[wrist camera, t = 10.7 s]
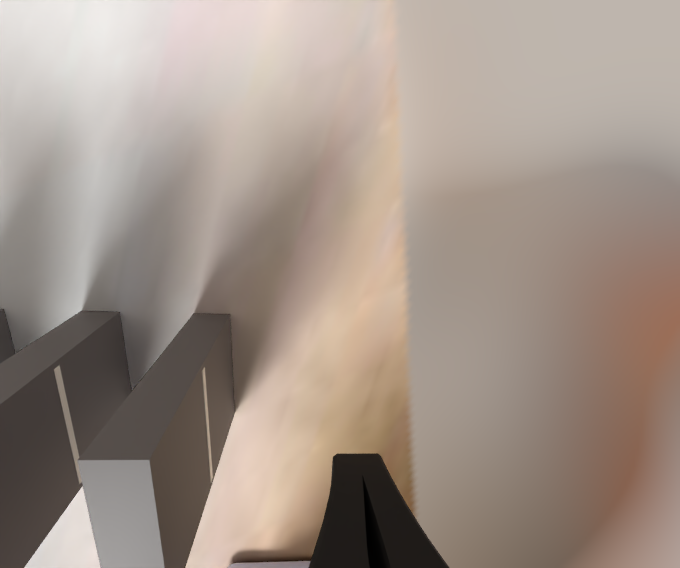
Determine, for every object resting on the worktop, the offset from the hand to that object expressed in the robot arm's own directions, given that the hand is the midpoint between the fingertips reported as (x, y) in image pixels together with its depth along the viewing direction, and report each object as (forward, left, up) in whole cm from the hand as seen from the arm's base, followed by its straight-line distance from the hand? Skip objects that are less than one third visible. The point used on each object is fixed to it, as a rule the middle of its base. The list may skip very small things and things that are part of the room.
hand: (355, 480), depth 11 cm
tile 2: (0, +10, -6) cm, 12 cm away
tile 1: (0, +6, -6) cm, 8 cm away
